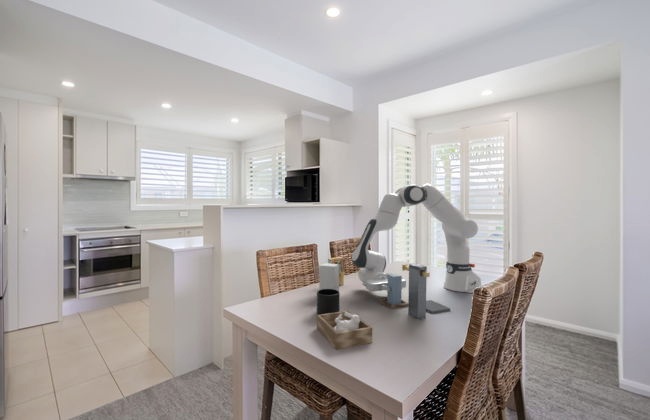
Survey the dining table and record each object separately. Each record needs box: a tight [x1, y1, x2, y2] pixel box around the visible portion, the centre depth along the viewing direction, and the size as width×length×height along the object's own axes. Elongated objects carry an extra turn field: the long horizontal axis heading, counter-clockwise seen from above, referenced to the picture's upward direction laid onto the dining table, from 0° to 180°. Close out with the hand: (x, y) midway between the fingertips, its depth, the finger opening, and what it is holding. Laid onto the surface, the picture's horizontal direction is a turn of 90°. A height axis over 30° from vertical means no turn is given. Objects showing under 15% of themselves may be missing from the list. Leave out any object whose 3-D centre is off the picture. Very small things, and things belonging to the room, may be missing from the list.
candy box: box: [327, 256, 345, 286], centre depth 170 cm, size 9×4×15 cm, turn 129°
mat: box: [426, 299, 451, 315], centre depth 135 cm, size 10×12×1 cm
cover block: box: [386, 273, 403, 305], centre depth 139 cm, size 4×4×13 cm
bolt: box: [401, 263, 431, 278], centre depth 125 cm, size 2×15×2 cm, turn 23°
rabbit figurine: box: [333, 312, 360, 332], centre depth 105 cm, size 12×8×10 cm, turn 86°
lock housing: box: [407, 263, 428, 320], centre depth 124 cm, size 4×6×21 cm, turn 23°
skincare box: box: [318, 262, 340, 292], centre depth 151 cm, size 8×7×16 cm
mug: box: [316, 289, 341, 315], centre depth 128 cm, size 9×12×9 cm
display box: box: [316, 310, 373, 350], centre depth 106 cm, size 13×17×5 cm
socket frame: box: [379, 297, 408, 310], centre depth 139 cm, size 10×10×1 cm
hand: (395, 288), depth 138 cm, fingers closed on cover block, 4 cm apart
